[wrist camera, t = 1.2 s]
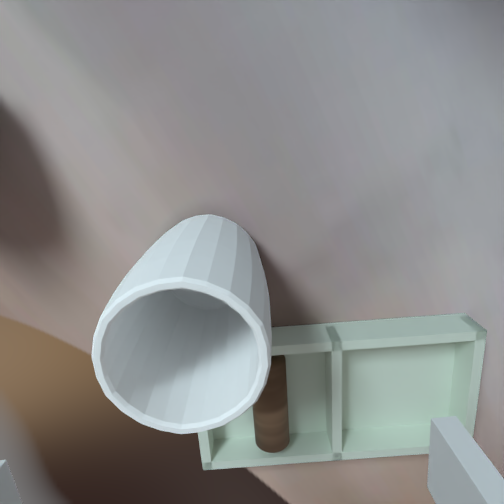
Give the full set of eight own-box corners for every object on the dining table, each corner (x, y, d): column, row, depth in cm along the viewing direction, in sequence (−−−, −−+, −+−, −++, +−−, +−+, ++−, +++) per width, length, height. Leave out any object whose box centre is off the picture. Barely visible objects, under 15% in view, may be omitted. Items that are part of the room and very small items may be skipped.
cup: (155, 203, 28) (75, 265, 15) (266, 210, 29) (286, 276, 15) (157, 305, 31) (89, 438, 17) (258, 310, 31) (270, 444, 18)
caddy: (191, 333, 32) (186, 352, 29) (464, 313, 32) (486, 330, 29) (206, 442, 35) (203, 470, 32) (452, 424, 35) (471, 450, 32)
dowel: (246, 352, 31) (251, 373, 29) (281, 347, 32) (289, 367, 29) (253, 429, 34) (258, 455, 31) (285, 423, 34) (293, 449, 31)
